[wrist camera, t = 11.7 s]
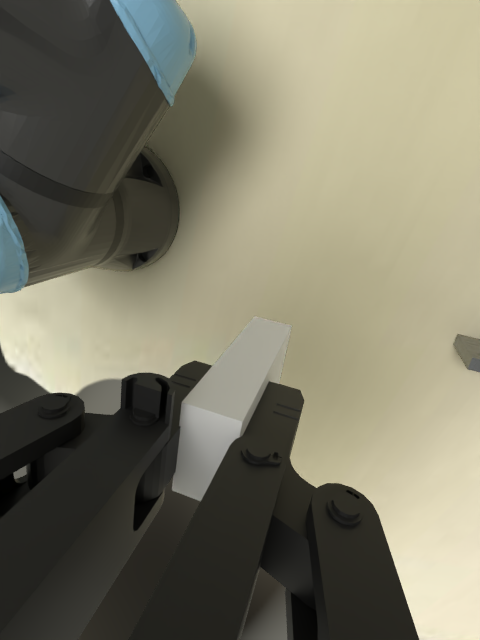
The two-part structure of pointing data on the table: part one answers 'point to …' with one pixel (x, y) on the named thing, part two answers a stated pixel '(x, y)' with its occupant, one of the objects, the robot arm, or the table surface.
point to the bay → (468, 351)
